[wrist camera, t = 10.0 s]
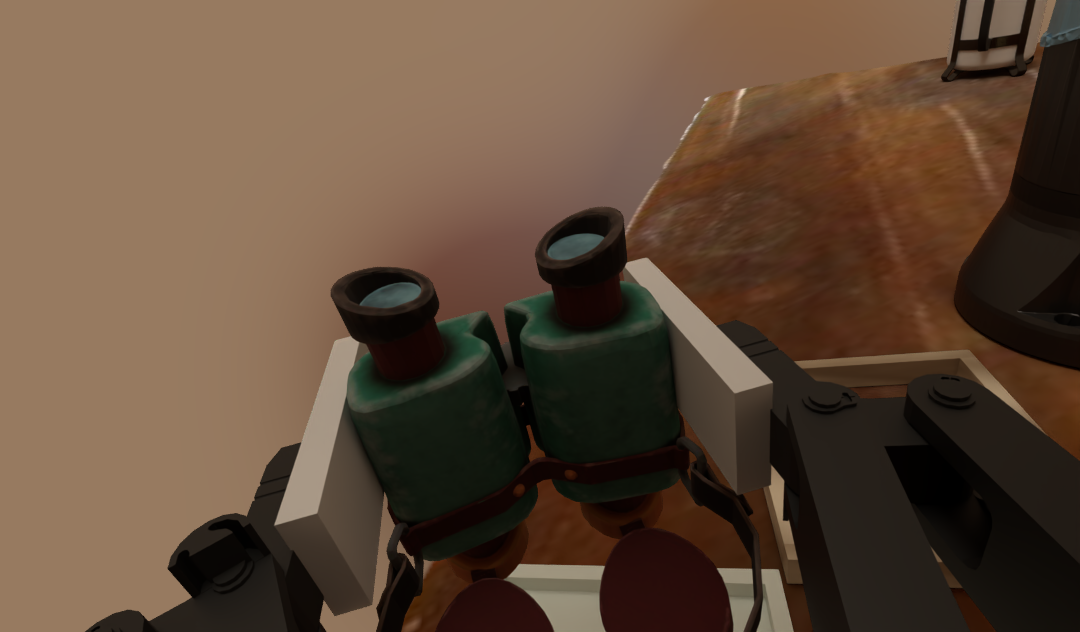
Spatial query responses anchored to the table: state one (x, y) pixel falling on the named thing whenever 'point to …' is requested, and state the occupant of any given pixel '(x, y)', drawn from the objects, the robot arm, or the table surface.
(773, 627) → the tray
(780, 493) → the holder
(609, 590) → the binoculars
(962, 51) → the coffee press
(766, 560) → the table surface
